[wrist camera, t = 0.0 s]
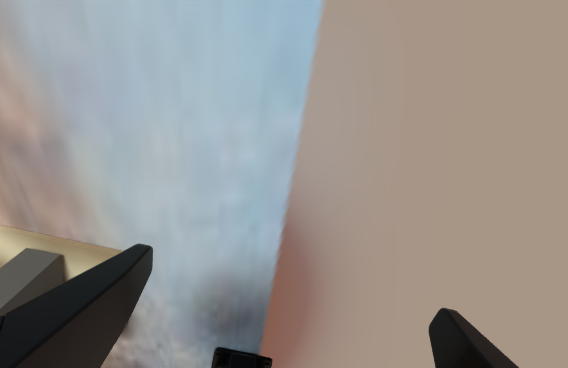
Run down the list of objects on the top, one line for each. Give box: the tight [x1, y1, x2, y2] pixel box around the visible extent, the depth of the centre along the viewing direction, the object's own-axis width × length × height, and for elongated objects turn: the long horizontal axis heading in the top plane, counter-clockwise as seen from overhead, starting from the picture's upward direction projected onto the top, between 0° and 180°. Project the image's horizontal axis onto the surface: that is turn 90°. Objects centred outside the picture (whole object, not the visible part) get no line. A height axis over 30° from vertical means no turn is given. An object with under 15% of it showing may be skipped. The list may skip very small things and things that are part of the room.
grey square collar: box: [0, 248, 64, 316], centre depth 25 cm, size 8×3×8 cm, turn 167°
